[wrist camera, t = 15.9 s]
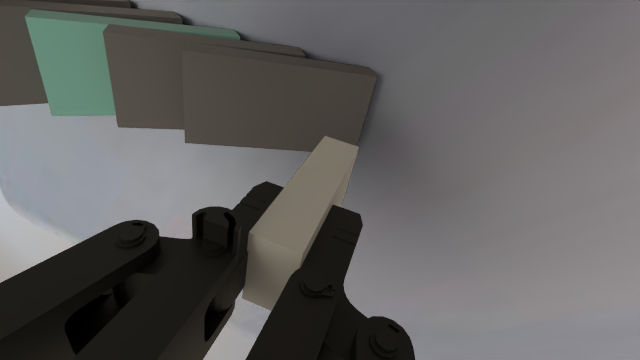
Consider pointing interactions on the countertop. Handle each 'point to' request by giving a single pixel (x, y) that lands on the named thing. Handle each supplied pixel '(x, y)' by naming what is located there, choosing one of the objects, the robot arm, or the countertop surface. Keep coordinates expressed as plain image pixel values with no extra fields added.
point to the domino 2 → (85, 57)
